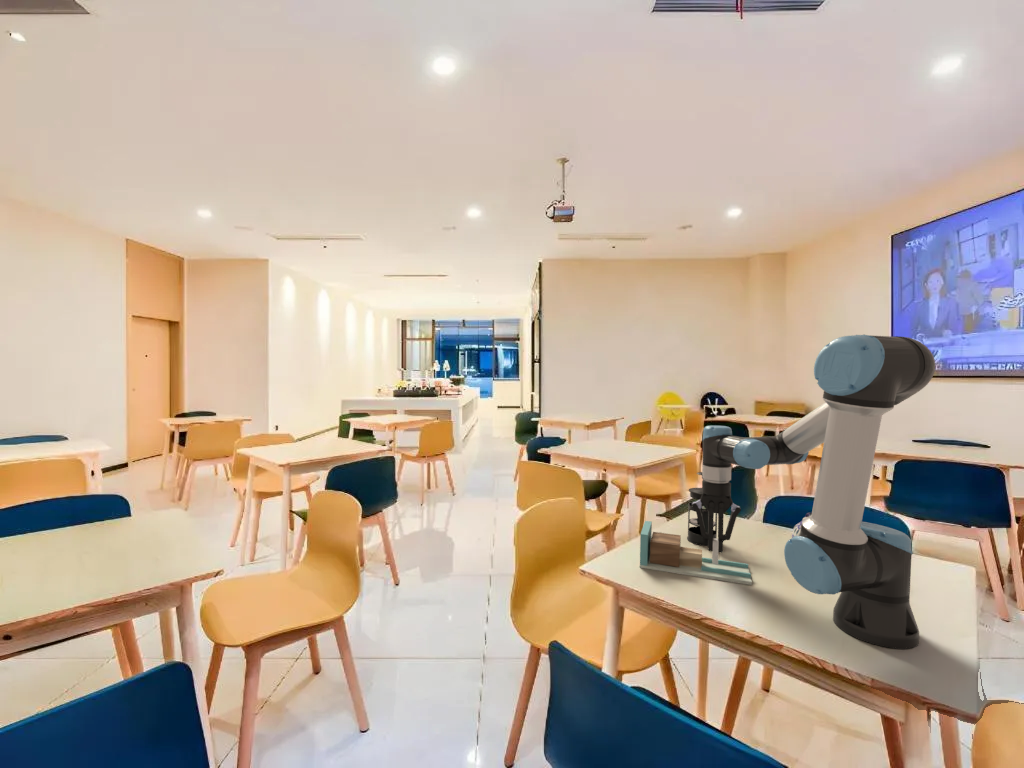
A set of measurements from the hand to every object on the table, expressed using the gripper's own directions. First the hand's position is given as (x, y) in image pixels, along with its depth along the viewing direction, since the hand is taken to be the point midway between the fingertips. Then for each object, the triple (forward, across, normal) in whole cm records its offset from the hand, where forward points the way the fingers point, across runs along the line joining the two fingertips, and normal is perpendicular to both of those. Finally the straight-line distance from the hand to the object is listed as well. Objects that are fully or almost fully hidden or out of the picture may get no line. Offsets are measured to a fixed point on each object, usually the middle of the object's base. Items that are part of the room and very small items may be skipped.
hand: (715, 562), depth 136 cm
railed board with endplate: (+2, +6, 0) cm, 6 cm away
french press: (+2, +3, -24) cm, 24 cm away
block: (+1, +14, -1) cm, 14 cm away
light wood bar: (+2, +10, 0) cm, 10 cm away
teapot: (+3, -30, -20) cm, 36 cm away
